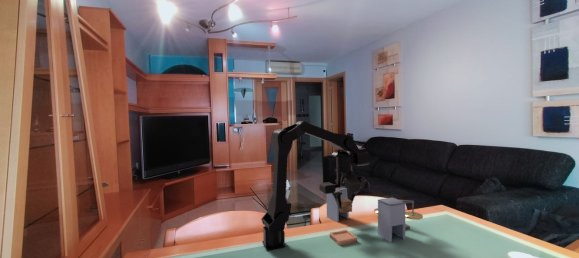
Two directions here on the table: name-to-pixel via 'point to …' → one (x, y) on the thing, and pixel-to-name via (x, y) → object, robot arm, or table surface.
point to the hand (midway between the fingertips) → (344, 207)
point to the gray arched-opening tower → (391, 218)
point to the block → (346, 205)
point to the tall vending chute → (335, 206)
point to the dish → (343, 237)
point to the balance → (408, 213)
